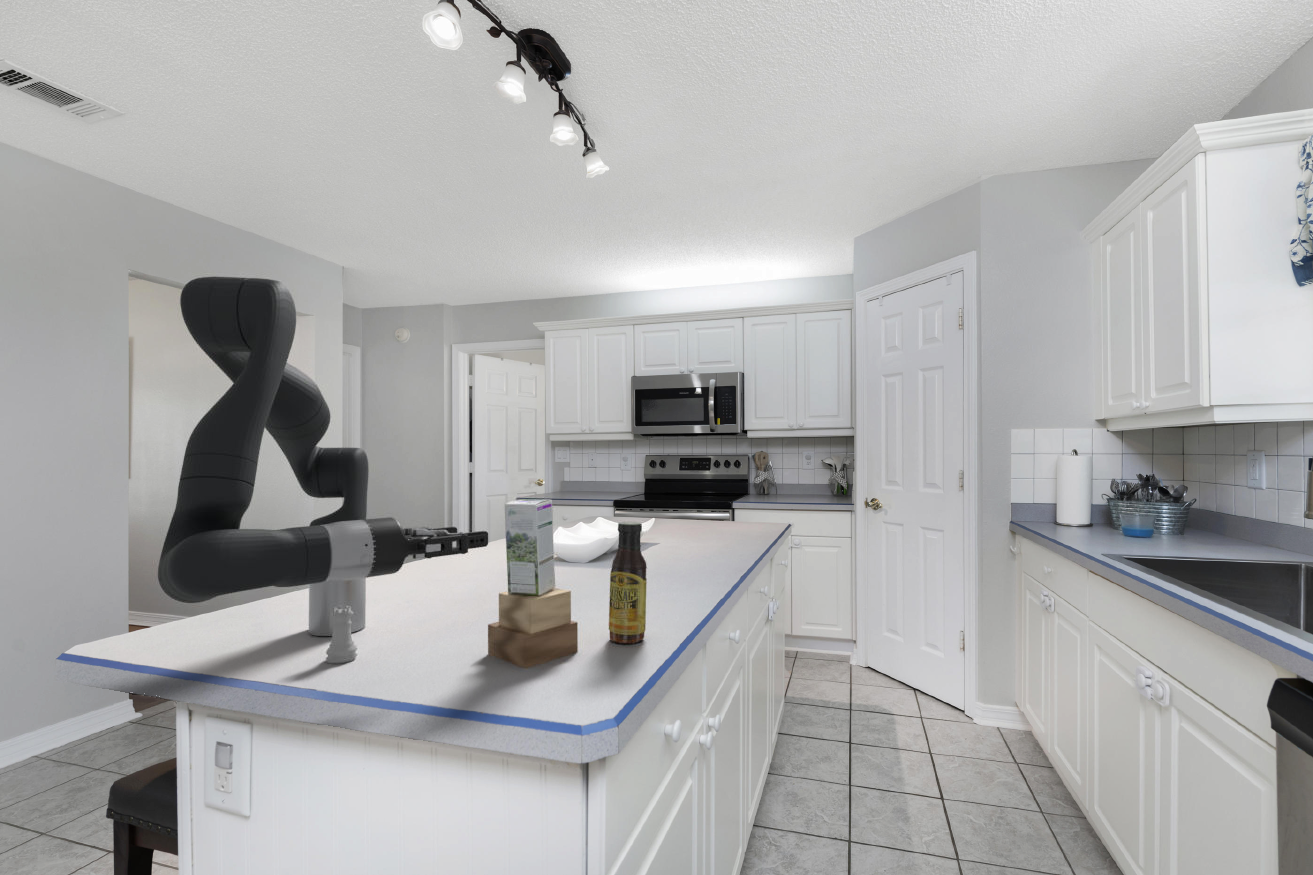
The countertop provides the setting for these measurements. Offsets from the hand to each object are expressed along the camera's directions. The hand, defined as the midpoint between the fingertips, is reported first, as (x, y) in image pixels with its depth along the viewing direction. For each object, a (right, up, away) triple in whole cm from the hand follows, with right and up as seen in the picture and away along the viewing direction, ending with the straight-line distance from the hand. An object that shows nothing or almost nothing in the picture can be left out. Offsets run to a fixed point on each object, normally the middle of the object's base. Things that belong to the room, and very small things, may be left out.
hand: (470, 535), depth 91 cm
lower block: (+8, -20, +6) cm, 22 cm away
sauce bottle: (+23, -20, +12) cm, 33 cm away
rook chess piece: (-21, -20, +4) cm, 30 cm away
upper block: (+8, -15, +6) cm, 18 cm away
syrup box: (+8, -10, +6) cm, 14 cm away
